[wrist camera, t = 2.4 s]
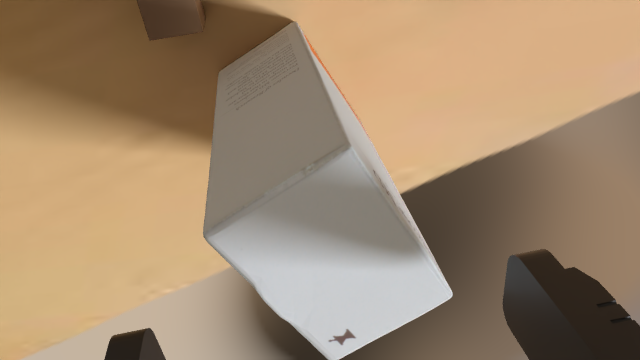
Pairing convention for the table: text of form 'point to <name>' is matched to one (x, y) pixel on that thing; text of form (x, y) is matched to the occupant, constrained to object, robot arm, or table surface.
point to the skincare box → (312, 203)
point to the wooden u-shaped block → (171, 17)
